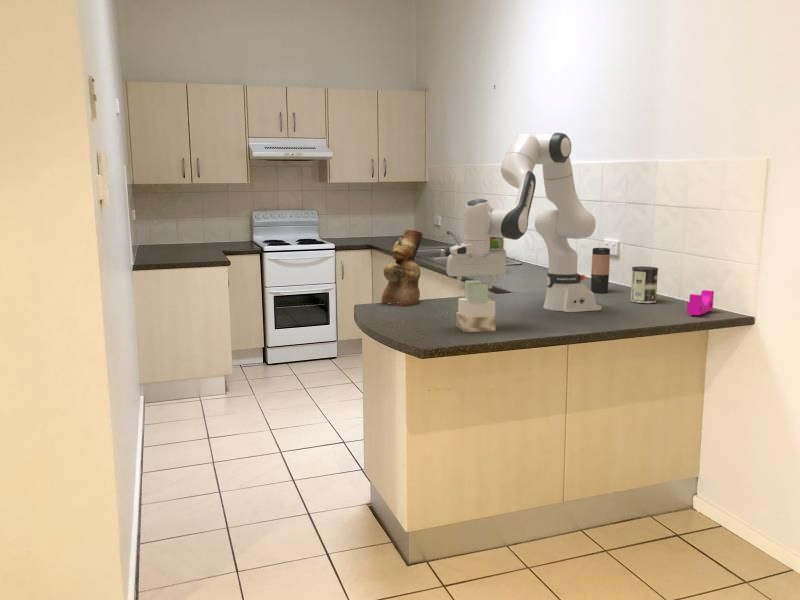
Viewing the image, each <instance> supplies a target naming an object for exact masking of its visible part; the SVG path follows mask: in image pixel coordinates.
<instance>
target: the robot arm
mask: <svg viewBox="0 0 800 600" xmlns="http://www.w3.org/2000/svg"><path fill="white" fill-rule="evenodd" d="M571 152H572V141H571V140H570V137H569V136H568V135H567V134H566V133H562V132H554V133H553V132H540V133H537V134H536V133H535V134H531V133H527V132H525V133H520V134H519V135H518V136H517V137H516V138H515V139H514V140H513V141H512V143H511V144H510V146H509V148H508V149H507V152H506V154H505V156H504V158H503V160H502V162H501V166H500V173H501V177H502V178H503V179H504V181H505V182H507V184H509V185H510V186H512V187H513V188H516V189H518V191H517V196H516V200H515V202H514V206H513V207H511V208H509V209H507V208H506V209H504V208H502V209H501V208H495V207H493V206H491V205H490V204H489V203H490V202H489V201H488V200H487V199H484V198H479V199H472V200H469V201H467V202H466V204H465V207H464V214H463V230H464V235H463V240H462V241H463V242H461V243H458V244H456V245H453V246H450V247H449V253H450V254H449V255H448V256H447V259H446V265H445V267H446V269H445V272H446V275H448V277H456V280H457V283H459V289H460V290H465V283H463V282H462V279H463V277H475V276H477V277H478V276H479V277H480V276H481V277H483V276H489V278H490V280H489V282H486V284H487V285H488V290H489V289H493V284H494V282H495V280H496V276H504V275H505V274H506V272H507V264H506V263H507V262H506V258H507V252H506V249H502V248H490V237H499V238H503V239H504V238H505V239H508V240H513V241H514V240H515V241H516V240H519V239H521V238H522V237H523V236H524V235H525V234H526V232H527V230H528V226H529V215H530V211H531V208H532V204H533V200H534V195H535V190H536V183H537V179H536V175H535V174H534V173H533V172H534V169H535V166H536V165H542V175H543V177H542V178H543V184H544V192H545V197H546V199H547V200H548V201H549V202H551V203H552V204H553V205H554V206H555V207H556V209H552V208H551V209H545V210H542V211H540V212H539V213H538V214H537V215H536V217H535V219H534V229H535V231H536V232H537V233H538V235H540V237H541V238H542V239H543V241H544V243H545V245H546V249H547V253H548V272H547V275H546V287H547V288H546V293H545V300H544V303H543V306H542V308H544V309H545V310H551V311H554V312H555V311H557V312H559V311H560V312H565V313H579V312H581V313H582V312H592V311H601V310H602V306H601V305H600V304H597V302H596V295H595V293H593V292H592V291H591V289H589V287H587V286H586V285H585V284H583V283H582V281H585V280H586V279H587V276H586V275H584V274H579V273H578V259H579V257H578V252H577V251H576V250H575V249H574V248H573V247H571V245H570V244H569V242H568V239H574V240H579V239H586V238H590V237H591V236H592V235H593V234H594V232H595V230H596V226H597V222H596V218H595V216H594V215H593V213H591V212H590V211H588V209H586V208H585V206H584V205H583V204H582V202H581V201H580V199H579V197H578V194H577V190H576V185H575V180H574V179H575V178H574V173H573V166H572V163H571V158H570V155H571ZM502 250H503V251H502Z"/></svg>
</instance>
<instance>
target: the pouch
mask: <svg viewBox="0 0 800 600" xmlns="http://www.w3.org/2000/svg"><path fill="white" fill-rule="evenodd" d="M504 245H505V244H504V238H499V237H490V248H502V249H504ZM504 250H505V249H504ZM502 251H503V250H502Z"/></svg>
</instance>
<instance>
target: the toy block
mask: <svg viewBox="0 0 800 600" xmlns="http://www.w3.org/2000/svg"><path fill="white" fill-rule="evenodd" d="M714 295H715V291H714V290H708V289H703V290H701V292H700V294H697V293H696V294H695V293H690V294H689V299H688V301H689V302H687V303H686V312H688V315H691V316H693V315H694V316H700V315H703V314H706V313H708V311H709V312H711V311H713V309H714V297H715V296H714Z"/></svg>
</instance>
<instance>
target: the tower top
mask: <svg viewBox="0 0 800 600" xmlns="http://www.w3.org/2000/svg"><path fill="white" fill-rule="evenodd" d="M457 303H458V304H457V305H458V308H457V309H458V311H457V312H458V313H460V314H461V315H463V316H464V317H466V318H478V317H496V301H494V300H492V299H490V298H488V303H472V302H470V301H469V300H467V299H466V298H465V297H462V298H460V297H459V298H458V302H457Z"/></svg>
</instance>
